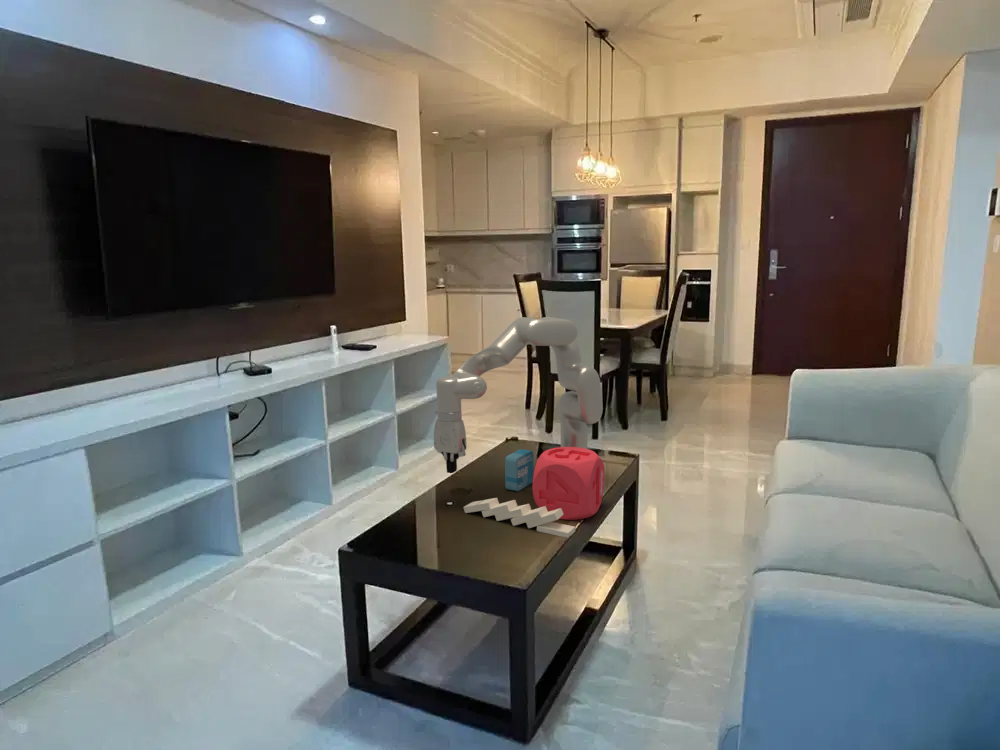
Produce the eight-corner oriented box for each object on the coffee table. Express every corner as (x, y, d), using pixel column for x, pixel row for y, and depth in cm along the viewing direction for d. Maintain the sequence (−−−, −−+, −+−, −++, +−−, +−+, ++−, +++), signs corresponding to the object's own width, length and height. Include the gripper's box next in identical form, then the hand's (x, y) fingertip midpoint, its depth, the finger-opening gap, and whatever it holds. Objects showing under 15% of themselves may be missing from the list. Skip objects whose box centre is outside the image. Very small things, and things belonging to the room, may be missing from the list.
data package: (516, 492, 225) (516, 458, 223) (505, 490, 228) (504, 456, 226) (533, 482, 235) (533, 449, 233) (522, 480, 238) (522, 447, 236)
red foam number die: (587, 524, 198) (588, 466, 195) (532, 515, 206) (531, 459, 203) (604, 503, 214) (605, 450, 211) (552, 496, 222) (552, 444, 219)
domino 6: (536, 526, 194) (568, 533, 189) (544, 520, 198) (575, 526, 193) (536, 532, 194) (568, 539, 189) (544, 526, 198) (575, 533, 193)
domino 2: (481, 511, 204) (506, 504, 199) (490, 506, 209) (515, 499, 203) (483, 517, 204) (508, 511, 199) (492, 512, 208) (517, 505, 203)
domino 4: (510, 519, 198) (538, 511, 193) (518, 514, 202) (545, 505, 197) (513, 525, 198) (540, 517, 193) (520, 520, 202) (548, 512, 197)
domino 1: (463, 506, 208) (488, 502, 202) (472, 501, 212) (497, 497, 207) (465, 513, 208) (490, 509, 202) (474, 508, 212) (499, 504, 207)
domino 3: (494, 514, 202) (520, 509, 196) (503, 509, 206) (529, 503, 200) (496, 521, 202) (522, 515, 196) (505, 515, 206) (531, 509, 200)
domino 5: (525, 522, 196) (554, 513, 191) (532, 516, 200) (561, 507, 195) (528, 528, 195) (557, 519, 191) (535, 522, 200) (563, 514, 195)
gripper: (423, 415, 210) (426, 471, 213) (461, 421, 202) (463, 479, 205) (438, 410, 216) (440, 464, 219) (476, 416, 208) (477, 472, 211)
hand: (451, 471), depth 212 cm, fingers closed
